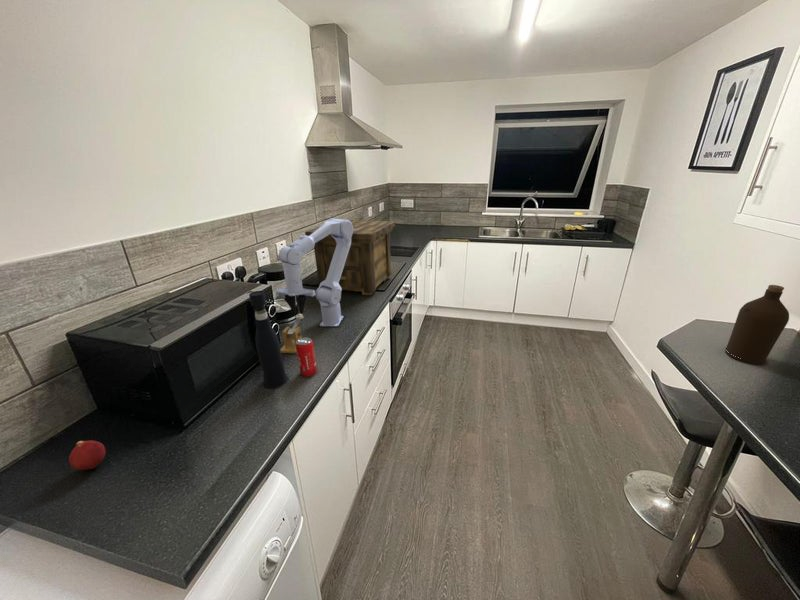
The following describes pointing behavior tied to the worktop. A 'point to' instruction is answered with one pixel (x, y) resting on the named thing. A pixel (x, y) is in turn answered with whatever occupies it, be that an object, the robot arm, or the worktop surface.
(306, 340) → the beverage can
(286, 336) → the bracket
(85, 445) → the onion
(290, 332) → the tap lever
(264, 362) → the black bottle
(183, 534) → the worktop surface
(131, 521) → the worktop surface
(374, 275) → the crate
